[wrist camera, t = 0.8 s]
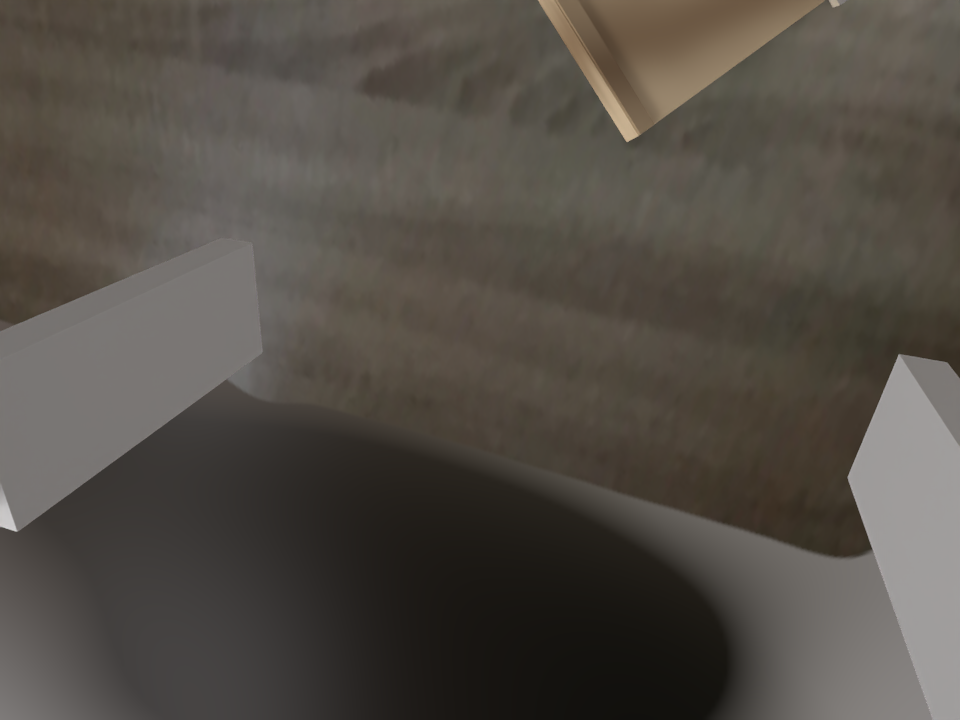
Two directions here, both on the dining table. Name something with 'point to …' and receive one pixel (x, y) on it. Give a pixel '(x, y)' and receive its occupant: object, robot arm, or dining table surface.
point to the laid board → (836, 2)
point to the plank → (663, 47)
